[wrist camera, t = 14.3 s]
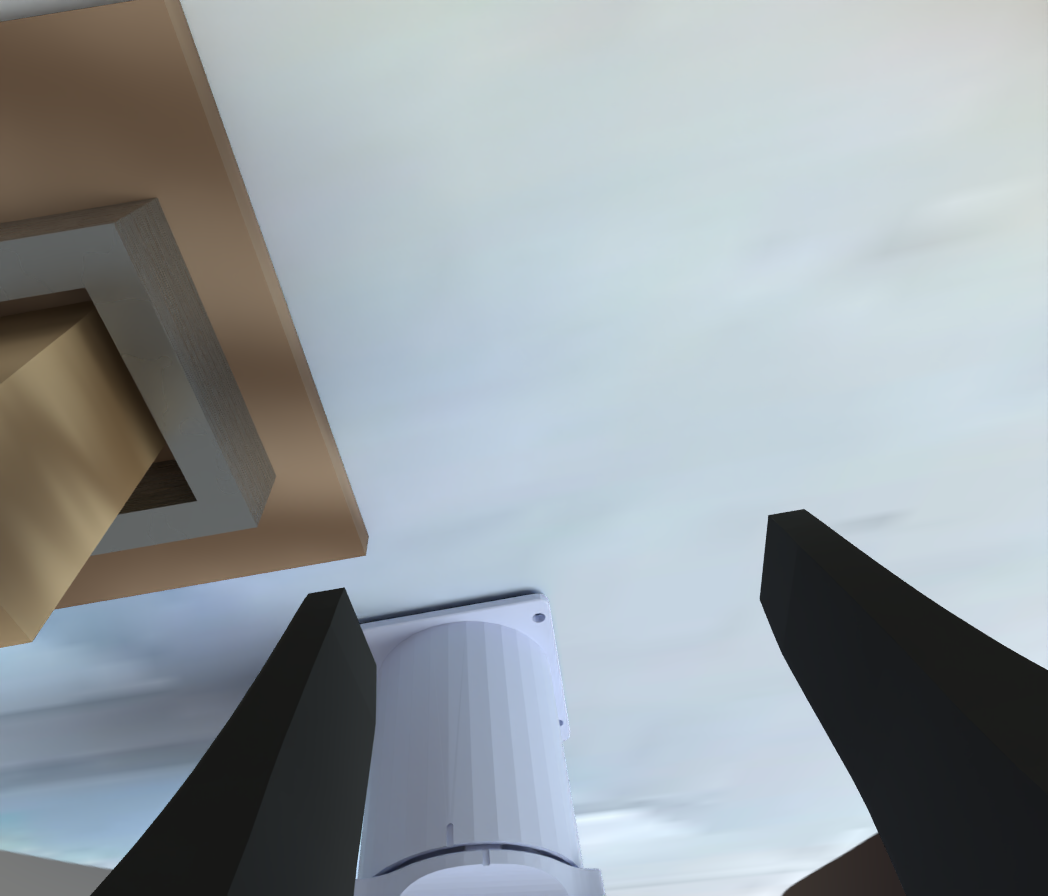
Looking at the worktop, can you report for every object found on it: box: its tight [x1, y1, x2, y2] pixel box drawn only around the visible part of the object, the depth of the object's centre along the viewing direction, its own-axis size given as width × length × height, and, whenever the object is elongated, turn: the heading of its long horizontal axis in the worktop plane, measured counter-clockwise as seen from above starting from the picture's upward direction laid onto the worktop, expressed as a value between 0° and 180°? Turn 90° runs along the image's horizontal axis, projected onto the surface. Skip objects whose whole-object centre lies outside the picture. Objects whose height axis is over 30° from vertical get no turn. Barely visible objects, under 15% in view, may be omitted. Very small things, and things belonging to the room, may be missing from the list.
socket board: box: [0, 0, 369, 609], centre depth 17 cm, size 16×12×4 cm
